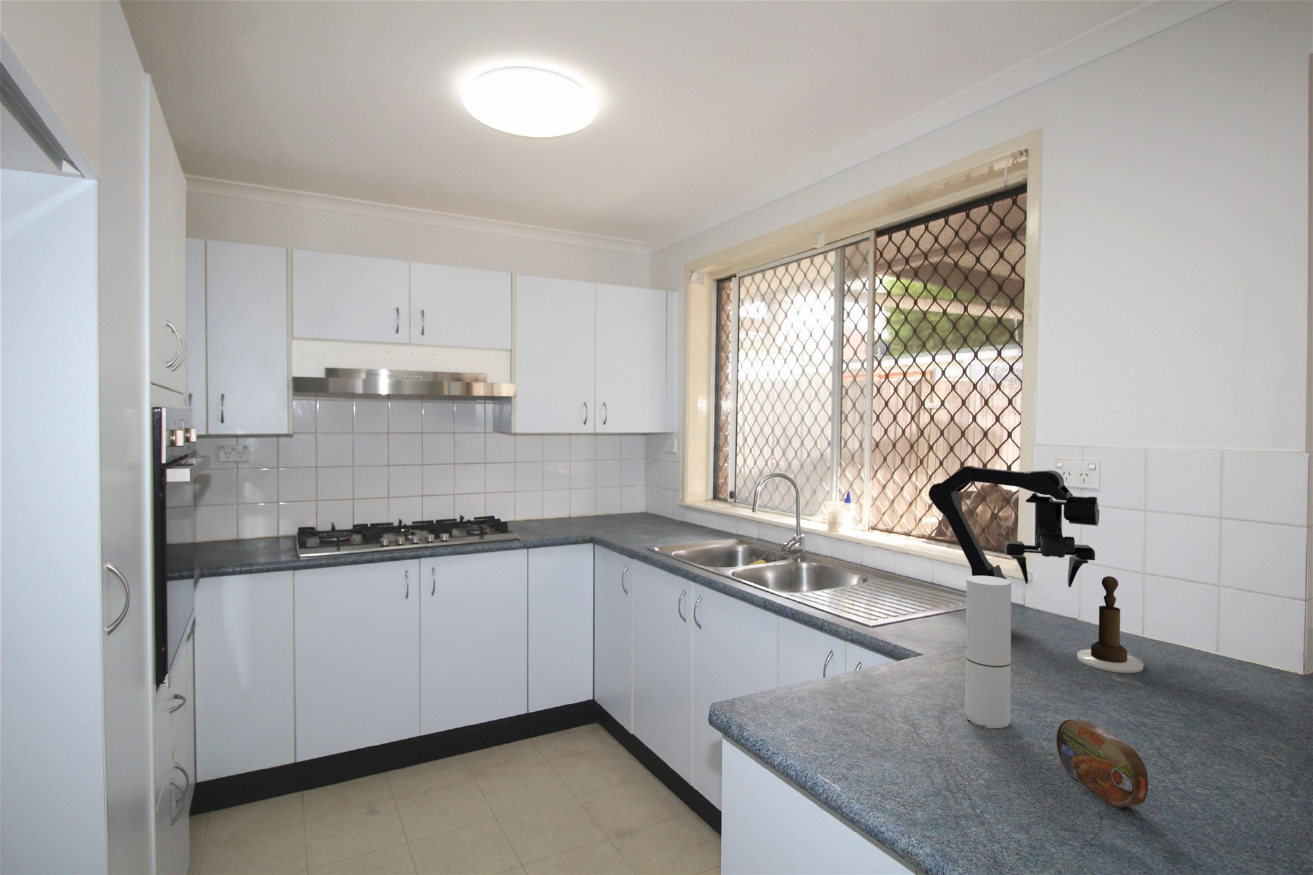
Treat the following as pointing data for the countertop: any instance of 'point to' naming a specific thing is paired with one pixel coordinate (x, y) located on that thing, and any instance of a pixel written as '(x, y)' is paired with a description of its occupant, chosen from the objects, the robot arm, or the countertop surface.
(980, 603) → the cylindrical container
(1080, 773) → the tin
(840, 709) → the countertop surface
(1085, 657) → the cream plate
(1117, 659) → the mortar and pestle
